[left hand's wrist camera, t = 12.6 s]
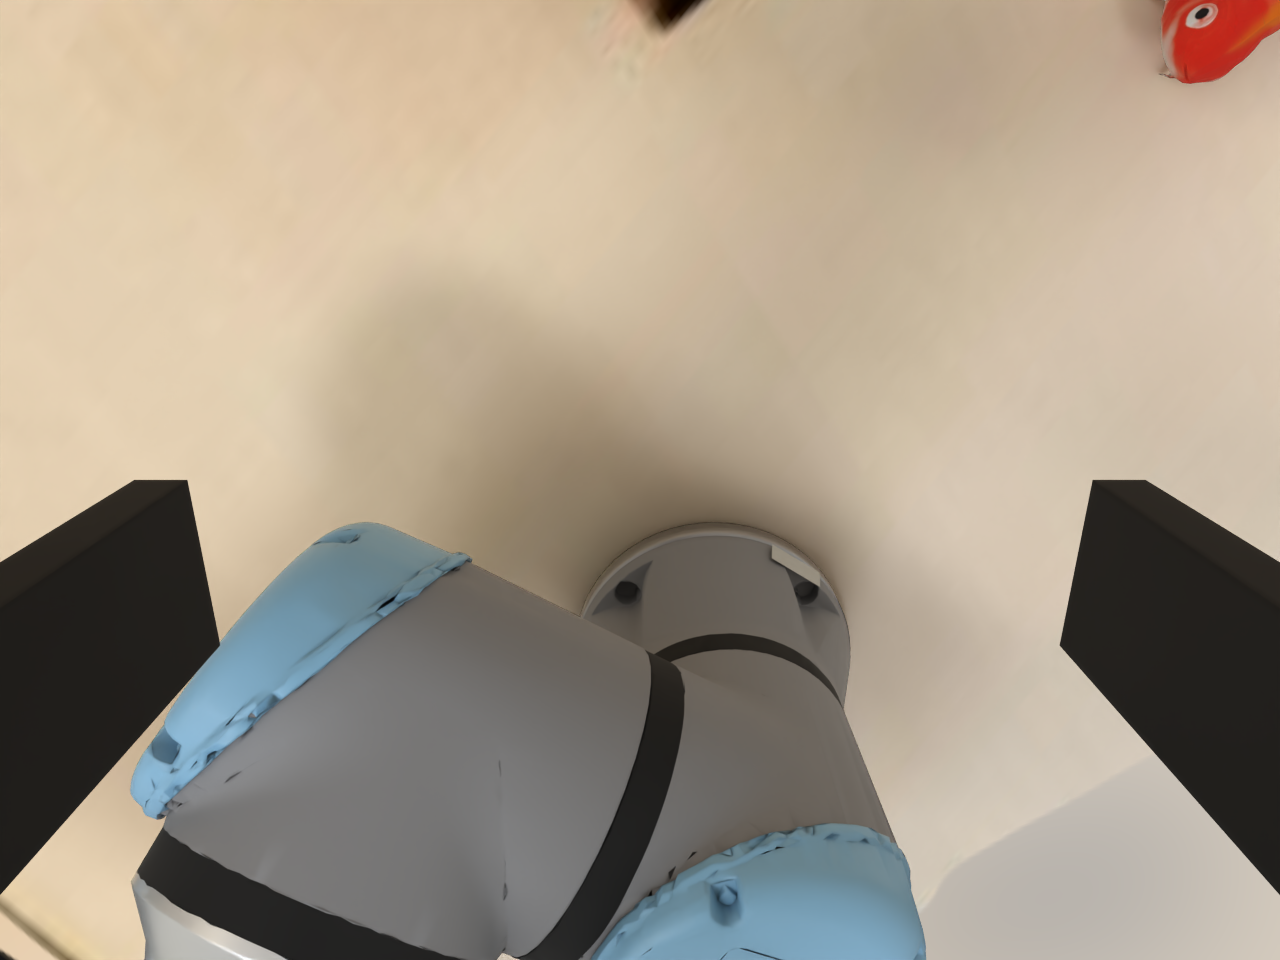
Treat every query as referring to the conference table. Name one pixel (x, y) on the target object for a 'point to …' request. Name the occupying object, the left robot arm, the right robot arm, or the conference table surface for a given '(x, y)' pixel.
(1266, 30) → the fish
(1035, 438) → the conference table surface
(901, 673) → the conference table surface
